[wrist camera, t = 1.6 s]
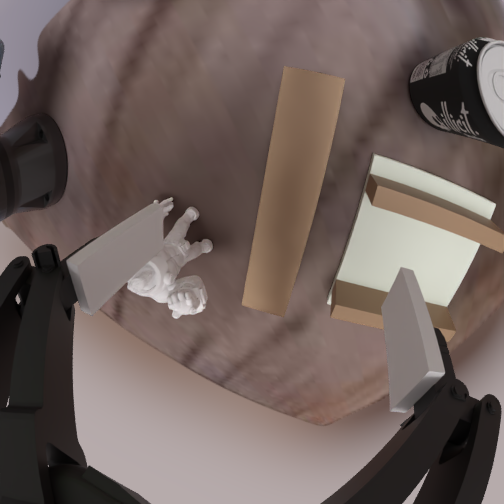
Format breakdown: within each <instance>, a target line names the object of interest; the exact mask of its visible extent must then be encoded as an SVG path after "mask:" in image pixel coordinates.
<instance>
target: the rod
mask: <svg viewBox="0 0 504 504" xmlns="http://www.w3.org/2000/svg"><path fill="white" fill-rule="evenodd" d="M344 83H345V79H343V78H339V77H336V76H331V75H327V74H323V73H318V72H313V71H309V70H303V69H298V68H292V67H286V66H284V69H283V75H282V80H281V86H280V92H279V97H278V103H277V108H276V114H275V120H274V125H273V131H272V137H271V142H270V148H269V153H268V159H267V165H266V170H265V176H264V182H263V187H262V193H261V199H260V204H259V210H258V216H257V221H256V227H255V232H254V238H253V244H252V249H251V255H250V261H249V266H248V272H247V278H246V283H245V289H244V295H243V300H242V305H243V306H246V307H250V308H253V309H256V310H260V311H263V312H267V313H270V314H274V315H277V316H281V317H284V315H285V312H286V309H287V306H288V303H289V299H290V296H291V293H292V290H293V287H294V283H295V280H296V277H297V273H298V270H299V267H300V263H301V260H302V257H303V253H304V250H305V246H306V243H307V239H308V236H309V232H310V228H311V225H312V221H313V217H314V214H315V210H316V206H317V202H318V199H319V195H320V191H321V187H322V183H323V179H324V175H325V171H326V167H327V162H328V158H329V154H330V150H331V145H332V141H333V136H334V132H335V127H336V123H337V118H338V113H339V109H340V104H341V99H342V94H343V88H344Z"/></svg>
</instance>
